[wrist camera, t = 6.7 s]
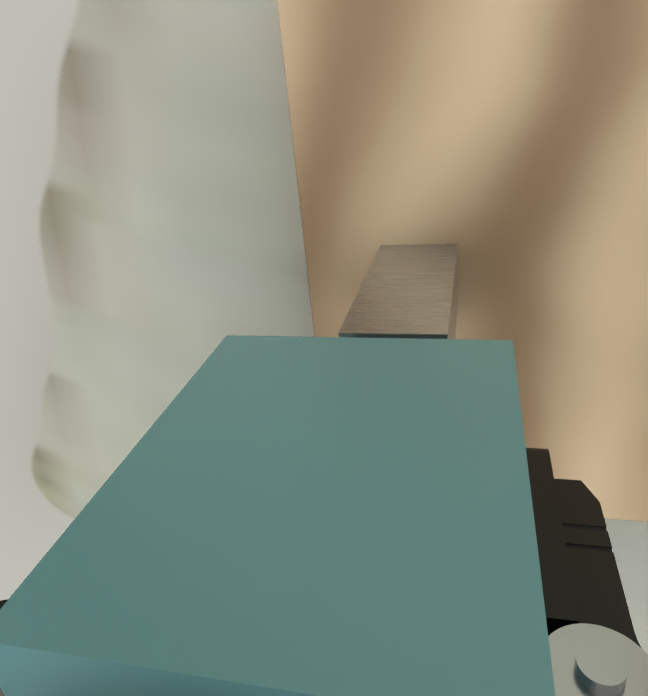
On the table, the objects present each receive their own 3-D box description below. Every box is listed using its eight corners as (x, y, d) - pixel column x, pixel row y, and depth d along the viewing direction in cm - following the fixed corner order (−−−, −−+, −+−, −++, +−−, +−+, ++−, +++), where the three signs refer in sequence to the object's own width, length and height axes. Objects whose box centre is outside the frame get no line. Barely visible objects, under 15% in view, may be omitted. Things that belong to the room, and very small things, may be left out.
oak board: (1022, -457, 12) (1047, -479, 11) (743, 518, 23) (749, 529, 22) (254, -267, 16) (246, -277, 15) (335, 486, 27) (332, 495, 26)
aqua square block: (512, 339, 10) (559, 736, 4) (500, 563, 12) (520, 1012, 7) (227, 335, 11) (-25, 639, 6) (263, 539, 14) (112, 900, 8)
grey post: (457, 243, 20) (447, 334, 14) (457, 315, 21) (447, 428, 15) (380, 245, 20) (338, 333, 14) (383, 314, 22) (346, 422, 16)
